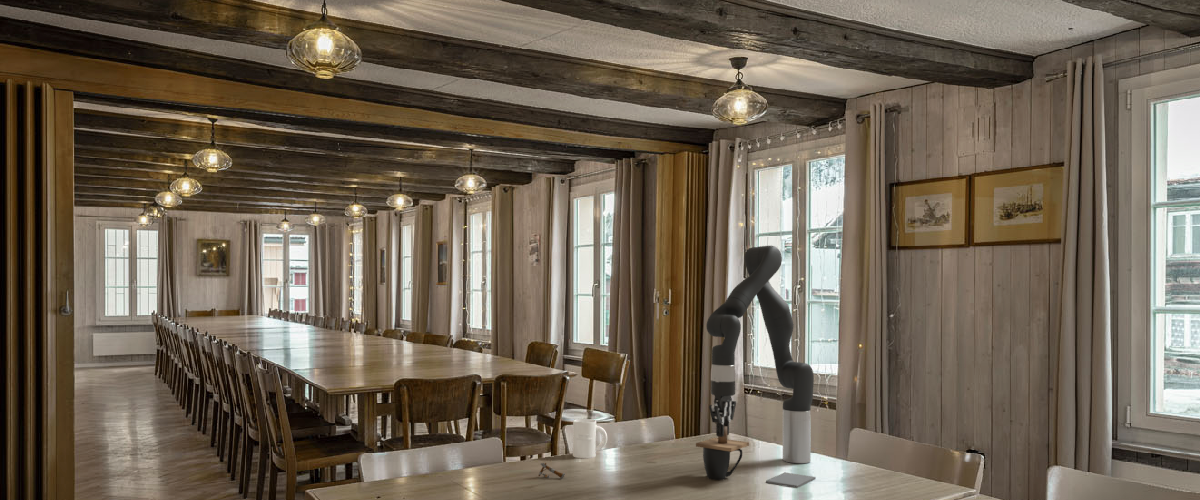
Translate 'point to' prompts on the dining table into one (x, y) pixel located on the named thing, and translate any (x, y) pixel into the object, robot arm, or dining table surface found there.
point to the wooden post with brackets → (550, 471)
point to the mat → (790, 479)
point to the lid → (722, 443)
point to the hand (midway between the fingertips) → (722, 435)
